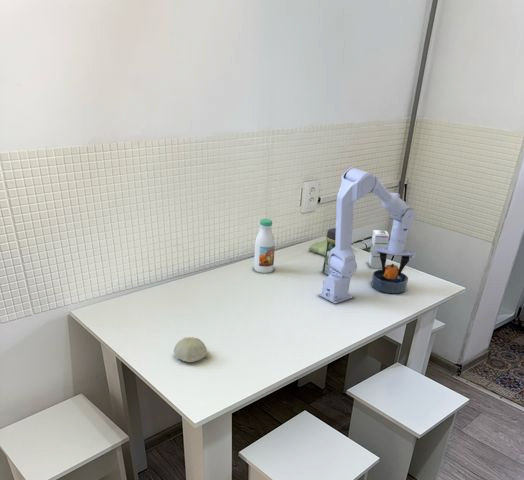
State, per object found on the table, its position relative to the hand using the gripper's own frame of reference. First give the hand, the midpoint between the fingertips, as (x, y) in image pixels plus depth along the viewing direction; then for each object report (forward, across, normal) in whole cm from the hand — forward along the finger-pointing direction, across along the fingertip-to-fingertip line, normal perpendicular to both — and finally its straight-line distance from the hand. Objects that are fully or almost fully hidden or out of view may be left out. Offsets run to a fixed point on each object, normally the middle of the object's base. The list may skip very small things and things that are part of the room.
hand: (390, 273), depth 185 cm
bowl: (+6, 0, 0) cm, 6 cm away
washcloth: (+6, +25, -32) cm, 41 cm away
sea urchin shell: (+6, +56, +68) cm, 88 cm away
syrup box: (+6, +5, -21) cm, 22 cm away
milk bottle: (+6, +49, -1) cm, 50 cm away
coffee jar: (+6, +21, -7) cm, 23 cm away
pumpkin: (+1, 0, 0) cm, 1 cm away
